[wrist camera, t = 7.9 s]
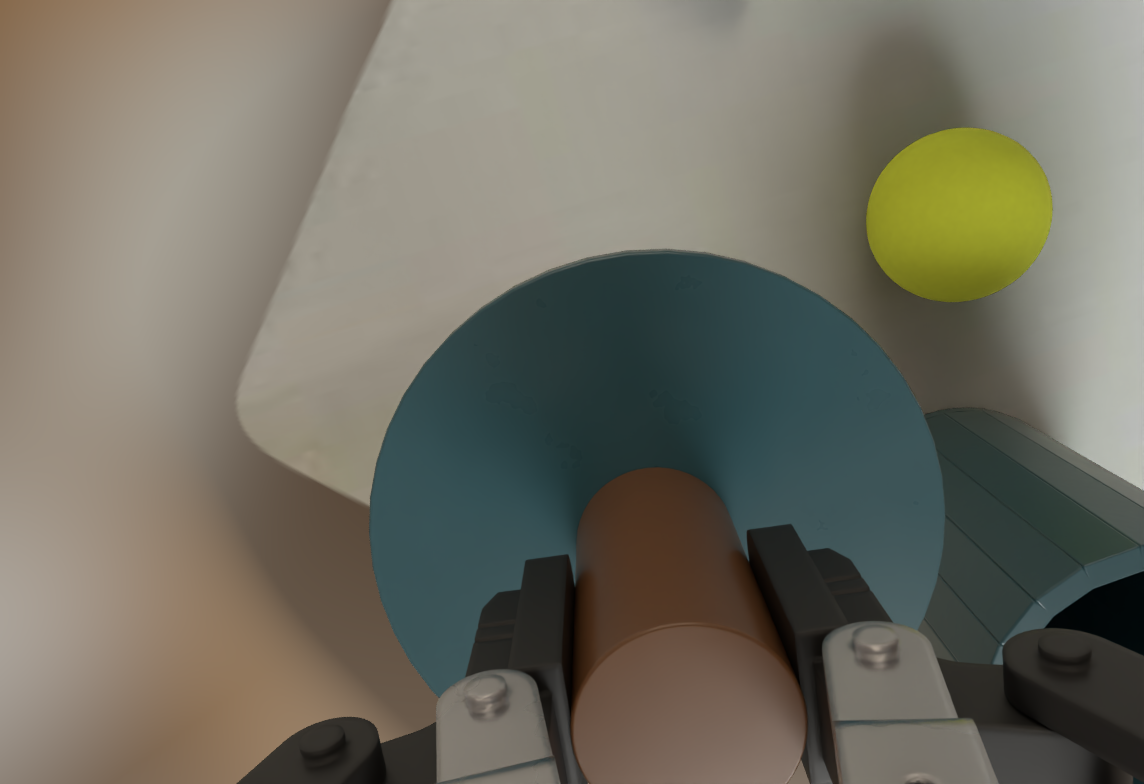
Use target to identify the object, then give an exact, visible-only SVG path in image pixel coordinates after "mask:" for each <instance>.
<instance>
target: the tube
mask: <svg viewBox="0 0 1144 784" xmlns="http://www.w3.org/2000/svg"><path fill="white" fill-rule="evenodd" d="M924 417H925V420H926V422H927V425H928V427H929V430H930V432H931V435H932V437H933V440H934V443H935V448H936V452H937V456H938V461H939V465H940V469H941V473H942V480H943V492H944V503H945V525H944V543H943V552H942V557H941V562H940V567H939V572H938V577H937V582H936V585H935V588H934V591H933V594H932V597H931V600H930V603H929V605H928V608H927V611H926V614H925V617H924V619H923V621H922V623H921V625H920V627H919V629H918V631H919V632H920V633H922V634H923V635H924V636H925V637H926V638H927V639H928V640H929V641H930V643H931V645H932V647H933V650H934V653H935V656H936V657H937V658H941V659H945V660H950V661H956V662H964V663H978V664H996V665H1003V658H1002V649H1003V646H1004V644H1005V643H1006V642H1007V641H1008V640H1009V639H1010V638H1011V637H1013V636H1015V635H1017V634H1019V633H1022V632H1025V631H1030V630H1034V629H1043V628H1060V629H1070V630H1077V631H1082V632H1086V633H1090V634H1093V635H1096V636H1099V637H1102V638H1104V639H1107V640H1109V641H1111V642H1113V643H1116V644H1118V645H1120V646H1122V647H1125V648H1127V649H1129V650H1131V651H1134V652H1136V653H1138V654H1140V655H1143V656H1144V491H1143V490H1141V489H1140V488H1138V487H1136V486H1134V485H1133V484H1131V483H1129V482H1127V481H1126V480H1124V479H1122V478H1120V477H1119V476H1117V475H1115V474H1113V473H1112V472H1110V471H1108V470H1106V469H1105V468H1103V467H1101V466H1099V465H1098V464H1096V463H1094V462H1092V461H1091V460H1089V459H1087V458H1085V457H1084V456H1082V455H1080V454H1078V453H1077V452H1075V451H1073V450H1071V449H1070V448H1068V447H1066V446H1064V445H1063V444H1061V443H1059V442H1057V441H1056V440H1054V439H1052V438H1050V437H1049V436H1047V435H1045V434H1043V433H1042V432H1040V431H1038V430H1036V429H1035V428H1033V427H1031V426H1029V425H1028V424H1026V423H1024V422H1022V421H1021V420H1019V419H1016V418H1013V417H1011V416H1008V415H1005V414H1002V413H1000V412H996V411H991V410H987V409H979V408H952V409H946V410H940V411H936V412H933V413H929V414H926V415H924ZM1133 784H1144V783H1143V782H1141V781H1140V780H1138V779H1136V778H1135V777H1133Z"/></svg>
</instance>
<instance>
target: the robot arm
mask: <svg viewBox="0 0 1144 784" xmlns="http://www.w3.org/2000/svg"><path fill="white" fill-rule="evenodd" d="M747 547H748V556H749V563H750V566H751V568H752V571H753V573H754V576H755V578H756V580H757V583H758V585H759V588H760V590H761V593H762V595H763V597H764V600H765V602H766V605H767V607H768V610H769V612H770V614H771V617H772V619H773V622H774V624H775V627H776V629H777V632H778V634H779V636H780V639H781V641H782V644H783V646H784V649H785V651H786V653H787V656H788V658H789V661H790V663H791V666H792V668H793V670H794V673H795V675H796V678H797V680H798V683H799V685H800V687H801V690H802V692H803V696H804V699H805V703H806V708H807V715H808V733H807V739H806V745H805V749H804V752H803V755H802V758H801V760H802V763H803V766H804V768H805V771H806V774H807V777H808V779H809V782H810V784H1133V777H1135V778H1136V779H1138V780H1140V781H1141V782H1143V783H1144V656H1143V655H1140V654H1138V653H1136V652H1134V651H1131V650H1129V649H1127V648H1125V647H1122V646H1120V645H1118V644H1116V643H1113V642H1111V641H1109V640H1107V639H1104V638H1102V637H1099V636H1096V635H1093V634H1090V633H1086V632H1082V631H1077V630H1070V629H1060V628H1043V629H1034V630H1030V631H1025V632H1022V633H1019V634H1017V635H1015V636H1013V637H1011V638H1010V639H1009V640H1008V641H1007V642H1006V643H1005V644H1004V646H1003V649H1002V658H1003V665H996V664H978V663H964V662H956V661H950V660H945V659H941V658H937V657H936V656H935V653H934V650H933V647H932V645H931V643H930V641H929V640H928V639H927V638H926V637H925V636H924V635H923V634H922V633H920V632H919V631H917V630H915V629H913V628H910V627H908V626H905V625H901V624H898V623H893V621H892V620H891V618H890V617H889V615H888V614H887V612H886V611H885V610H884V608H883V607H882V605H881V604H880V602H879V601H878V599H877V598H876V596H875V595H874V593H873V592H872V591H870V587H869V586H868V584H867V583H866V581H865V580H864V579H863V578H861V574H860V573H859V571H858V570H857V568H856V567H855V565H854V564H853V562H852V561H851V559H849V558H847V557H845V556H843V555H841V554H839V553H837V552H836V551H834V550H832V549H830V548H824V549H817V550H809V551H807V550H806V548H805V546H804V545H803V543H802V541H801V539H800V538H799V536H798V534H797V532H796V531H795V529H794V527H793V526H792V524H786V525H778V526H771V527H764V528H756V529H749V530H747ZM574 606H575V584H574V578H573V572H572V567H571V562H570V558H569V555H568V554H565V555H557V556H550V557H543V558H536V559H528V560H526V561H525V566H524V572H523V578H522V584H521V589H519V590H512V591H504V592H498V593H497V594H496V595H495V596H494V597H493V598H492V599H491V600H490V601H489V602H488V603H487V604H486V605H485V606H484V607H483V608H482V611H481V615H480V619H479V623H478V629H477V631H476V635H475V639H474V640H475V643H473V648H472V652H471V656H470V660H469V664H468V668H467V672H466V676H465V678H464V679H461V680H460V681H458V682H456V683H455V684H453V685H452V686H450V687H449V688H448V689H447V690H446V691H445V692H444V693H443V694H442V695H441V697H440V698H439V700H438V703H437V706H436V722H435V723H433V724H431V725H430V726H428V727H425V728H423V729H421V730H419V731H416V732H414V733H411V734H408V735H405V736H402V737H399V738H396V739H393V740H390V741H387V742H384V743H380V739H379V735H378V731H377V728H376V727H375V725H374V724H372V723H371V722H370V721H368V720H365V719H362V718H358V717H341V718H333V719H329V720H325V721H322V722H319V723H315V724H313V725H311V726H308V727H306V728H304V729H302V730H300V731H299V732H297V733H295V734H294V735H292V736H291V737H289V738H288V739H287V740H286V741H284V742H283V743H282V744H281V745H280V746H279V747H277V748H276V749H275V750H274V751H273V752H272V753H271V754H270V755H269V756H267V757H266V758H265V759H264V760H263V761H262V762H261V763H259V764H258V765H257V766H256V767H255V768H254V769H253V770H251V771H250V772H249V773H248V774H247V775H246V776H245V777H244V778H242V779H241V780H240V781H239V782H238V783H237V784H588V782H587V780H586V779H585V777H584V776H583V774H582V772H581V770H580V768H579V766H578V764H577V761H576V758H575V756H574V753H573V748H572V743H571V736H570V719H571V692H572V663H573V635H574Z"/></svg>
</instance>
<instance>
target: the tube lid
mask: <svg viewBox="0 0 1144 784" xmlns="http://www.w3.org/2000/svg"><path fill="white" fill-rule="evenodd" d="M369 521H370V522H369V536H370V546H371V555H372V565H373V570H374V574H375V578H376V582H377V586H378V590H379V594H380V598H381V601H382V604H383V607H384V609H385V612H386V614H387V617H388V619H389V621H390V624H391V626H392V629H393V631H394V634H395V635H396V637H397V639H398V641H399V642H400V644H401V646H402V648H403V649H404V651H405V653H406V655H407V657H408V659H409V660H410V662H411V664H412V665H413V666H414V668H415V669H416V670H417V672H418V673H419V674H420V676H421V677H422V678H423V680H424V681H425V682H426V683H427V685H428V686H429V688H430V689H431V690H432V691H433V692H434V693H435V694H436V695H437V696H438V697H439V698H440V697H441V695H442V694H443V693H444V692H445V691H446V690H447V689H448V688H449V687H450V686H452V685H453V684H455V683H456V682H458V681H460V680H461V679H464V678H465V676H466V672H467V668H468V664H469V660H470V656H471V652H472V648H473V643H475V640H474V639H475V635H476V631H477V629H478V623H479V619H480V615H481V611H482V608H483V607H484V606H485V605H486V604H487V603H488V602H489V601H490V600H491V599H492V598H493V597H494V596H495V595H496V594H497V593H498V592H504V591H512V590H519V589H521V584H522V578H523V572H524V566H525V561H526V560H528V559H536V558H543V557H550V556H557V555H565V554H568V555H569V558H570V562H571V567H572V572H573V578H574V584H575V606H574V635H573V663H572V692H571V719H570V736H571V743H572V748H573V753H574V756H575V758H576V761H577V764H578V766H579V768H580V770H581V772H582V774H583V776H584V777H585V779H586V780H587V782H588V783H589V784H787V783H788V782H789V781H790V779H791V777H792V776H793V775H794V773H795V771H796V769H797V767H798V765H799V763H800V760H801V758H802V755H803V752H804V749H805V745H806V739H807V733H808V715H807V708H806V703H805V699H804V696H803V692H802V690H801V687H800V685H799V683H798V680H797V678H796V675H795V673H794V670H793V668H792V666H791V663H790V661H789V658H788V656H787V653H786V651H785V649H784V646H783V644H782V641H781V639H780V636H779V634H778V632H777V629H776V627H775V624H774V622H773V619H772V617H771V614H770V612H769V610H768V607H767V605H766V602H765V600H764V597H763V595H762V593H761V590H760V588H759V585H758V583H757V580H756V578H755V576H754V573H753V571H752V568H751V566H750V563H749V556H748V547H747V530H749V529H756V528H764V527H771V526H778V525H786V524H792V526H793V527H794V529H795V531H796V532H797V534H798V536H799V538H800V539H801V541H802V543H803V545H804V546H805V548H806V550H807V551H809V550H817V549H824V548H830V549H832V550H834V551H836V552H837V553H839V554H841V555H843V556H845V557H847V558H849V559H851V561H852V562H853V564H854V565H855V567H856V568H857V570H858V571H859V573H860V574H861V578H863V579H864V580H865V581H866V583H867V584H868V586H869V587H870V591H872V592H873V593H874V595H875V596H876V598H877V599H878V601H879V602H880V604H881V605H882V607H883V608H884V610H885V611H886V612H887V614H888V615H889V617H890V618H891V620H892V621H893V623H898V624H901V625H905V626H908V627H910V628H913V629H915V630H917V631H918V629H919V627H920V625H921V623H922V621H923V619H924V617H925V614H926V611H927V608H928V605H929V603H930V600H931V597H932V594H933V591H934V588H935V585H936V582H937V577H938V572H939V567H940V562H941V557H942V552H943V543H944V525H945V503H944V492H943V480H942V473H941V469H940V465H939V461H938V456H937V452H936V448H935V443H934V440H933V437H932V435H931V432H930V430H929V427H928V425H927V422H926V420H925V417H924V414H923V412H922V409H921V407H920V405H919V403H918V402H917V400H916V398H915V396H914V395H913V393H912V391H911V389H910V388H909V386H908V384H907V382H906V381H905V379H904V377H903V375H902V374H901V373H900V371H899V370H898V369H897V367H896V366H895V365H894V364H893V362H892V361H891V360H890V358H889V357H888V356H887V355H886V353H885V352H884V351H883V349H882V348H881V347H880V346H879V344H878V343H877V342H875V341H874V340H873V339H872V338H871V337H870V336H869V335H868V334H867V333H866V332H865V331H864V330H863V329H862V328H861V327H860V326H859V325H858V324H857V323H856V322H855V321H854V320H853V319H852V318H850V317H849V316H848V315H846V314H845V313H844V312H842V311H841V310H839V309H838V308H837V307H835V306H834V305H833V304H831V303H830V302H828V301H827V300H826V299H824V298H823V297H822V296H820V295H818V294H816V293H815V292H813V291H811V290H809V289H807V288H805V287H803V286H802V285H800V284H798V283H796V282H794V281H792V280H790V279H788V278H787V277H785V276H783V275H781V274H778V273H775V272H773V271H770V270H767V269H765V268H762V267H759V266H757V265H754V264H751V263H748V262H746V261H742V260H738V259H733V258H729V257H725V256H720V255H716V254H711V253H707V252H697V251H686V250H674V249H650V250H627V251H621V252H615V253H610V254H604V255H598V256H593V257H587V258H584V259H581V260H578V261H575V262H572V263H568V264H565V265H562V266H559V267H556V268H553V269H550V270H547V271H545V272H543V273H541V274H539V275H537V276H535V277H533V278H530V279H528V280H526V281H524V282H522V283H520V284H518V285H516V286H514V287H512V288H511V289H509V290H507V291H506V292H504V293H503V294H501V295H500V296H498V297H497V298H495V299H493V300H492V301H490V302H489V303H487V304H486V305H484V306H483V307H481V308H480V309H479V310H478V311H477V312H475V313H474V314H473V315H472V316H471V317H470V318H468V319H467V320H466V321H465V322H464V323H463V324H461V325H460V326H459V327H458V328H457V329H456V330H454V331H453V332H452V333H451V334H450V336H449V337H448V338H447V339H446V340H445V341H444V342H443V343H442V345H441V346H440V347H439V348H438V349H437V350H436V351H435V352H434V354H433V355H432V356H431V357H430V358H429V359H428V360H427V361H426V363H425V364H424V365H423V367H422V368H421V370H420V371H419V373H418V374H417V376H416V377H415V379H414V380H413V382H412V383H411V385H410V386H409V388H408V389H407V390H406V392H405V393H404V395H403V397H402V399H401V401H400V403H399V405H398V407H397V409H396V411H395V414H394V416H393V418H392V420H391V422H390V424H389V426H388V428H387V431H386V434H385V437H384V440H383V443H382V446H381V450H380V453H379V456H378V459H377V462H376V467H375V473H374V479H373V484H372V490H371V496H370V519H369Z"/></svg>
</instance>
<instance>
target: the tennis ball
mask: <svg viewBox="0 0 1144 784" xmlns="http://www.w3.org/2000/svg"><path fill="white" fill-rule="evenodd" d="M1052 211H1053V208H1052V195H1051V190H1050V186H1049V183H1048V180H1047V177H1046V175H1045V173H1044V171H1043V169H1042V168H1041V166H1040V165H1039V163H1038V162H1037V160H1036V159H1035V158H1034V157H1033V156H1032V155H1031V154H1030V153H1029V152H1028V151H1027V150H1026V149H1025V148H1024V147H1023V146H1021V145H1020V144H1019V143H1018V142H1016V141H1014V140H1012V139H1010V138H1009V137H1007V136H1004V135H1002V134H999V133H997V132H994V131H990V130H986V129H979V128H953V129H948V130H943V131H939V132H936V133H933V134H930V135H927V136H925V137H923V138H921V139H919V140H917V141H915V142H914V143H912V144H910V145H909V146H907V147H906V148H905V149H903V150H902V151H901V152H900V153H899V154H897V155H896V156H895V157H894V158H893V159H892V160H891V161H890V162H889V163H888V165H887V166H886V167H885V168H884V170H883V171H882V172H881V174H880V176H879V177H878V179H877V181H876V183H875V185H874V187H873V190H872V192H871V195H870V199H869V202H868V207H867V213H866V228H867V236H868V241H869V245H870V247H871V250H872V253H873V255H874V257H875V259H876V260H877V262H878V264H879V265H880V267H881V268H882V269H883V271H884V272H885V273H886V274H887V275H888V276H889V277H890V278H891V279H892V280H893V281H894V282H895V283H896V284H898V285H899V286H901V287H902V288H904V289H905V290H907V291H909V292H911V293H913V294H915V295H917V296H920V297H923V298H926V299H931V300H935V301H942V302H963V301H969V300H975V299H979V298H982V297H986V296H988V295H991V294H993V293H995V292H998V291H999V290H1001V289H1003V288H1005V287H1006V286H1008V285H1010V284H1011V283H1013V282H1014V281H1015V280H1016V279H1018V278H1019V277H1020V276H1021V275H1022V274H1023V273H1024V272H1025V271H1026V270H1028V268H1029V267H1030V266H1031V265H1032V263H1033V262H1034V261H1035V260H1036V258H1037V256H1038V255H1039V253H1040V252H1041V250H1042V248H1043V246H1044V244H1045V242H1046V239H1047V236H1048V234H1049V231H1050V226H1051V221H1052Z"/></svg>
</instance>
